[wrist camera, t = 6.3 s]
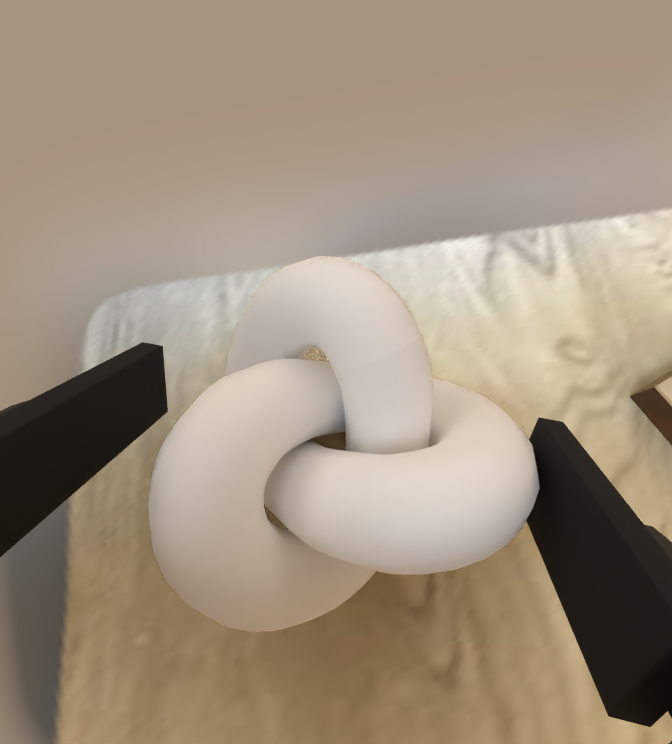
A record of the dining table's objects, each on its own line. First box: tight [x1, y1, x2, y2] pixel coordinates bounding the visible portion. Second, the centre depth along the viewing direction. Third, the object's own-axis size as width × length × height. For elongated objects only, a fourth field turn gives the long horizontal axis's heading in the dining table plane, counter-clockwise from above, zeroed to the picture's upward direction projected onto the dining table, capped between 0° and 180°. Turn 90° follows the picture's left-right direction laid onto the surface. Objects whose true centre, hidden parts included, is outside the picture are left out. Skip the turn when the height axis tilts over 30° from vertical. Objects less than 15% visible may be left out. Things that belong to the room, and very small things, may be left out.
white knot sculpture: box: [147, 256, 540, 632], centre depth 13 cm, size 11×12×9 cm
